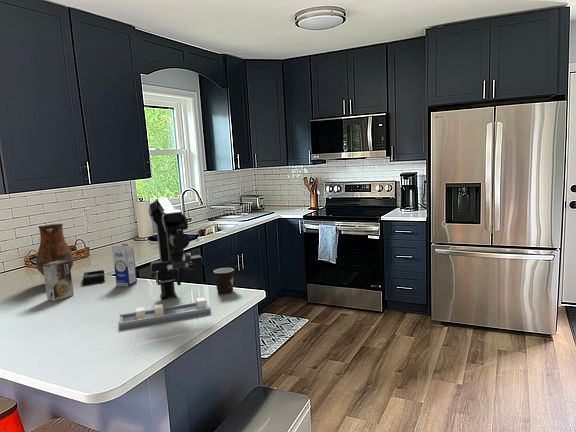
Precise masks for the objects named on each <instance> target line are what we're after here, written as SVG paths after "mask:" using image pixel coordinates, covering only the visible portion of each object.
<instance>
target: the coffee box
mask: <svg viewBox="0 0 576 432" xmlns="http://www.w3.org/2000/svg"><path fill="white" fill-rule="evenodd" d="M43 272H44V275H43V279H44V284H45V291H46V299H47V300H48V301H52V302H56V301H60V300H63V299H66V298H69V297H71V296H74V294H75V293H74V287H73V278H72V271H71V270H70V263H69V261H66V260H59V261H55V262H51V263H47V264H43Z"/></svg>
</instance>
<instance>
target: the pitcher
mask: <svg viewBox="0 0 576 432" xmlns="http://www.w3.org/2000/svg"><path fill="white" fill-rule="evenodd" d="M63 225H64V223H53V224H46V225H38V229H39V235H40V239H39V241H40V242H39V248H38V250H37V252H36V253H37V254H36V256H35V257H36V259H35V265H36V268H37V271H38V272H39V273H40V274H41V275H42V276H44V272H43V264H47V263H51V262H55V261H59V260H66V261H69V263H70V271H71V270H72V268H73V266H74V256H73V253H72V250H71V248H70V247H69V245H68V243H67V241H66V240H65V236H64V231H63Z"/></svg>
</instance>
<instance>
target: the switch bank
mask: <svg viewBox="0 0 576 432" xmlns="http://www.w3.org/2000/svg"><path fill="white" fill-rule="evenodd" d="M205 301H206V308H202V309H198V308H197V305H196V301H195V302H189V303H181V304H178V305H176V304H175V305H171V306H170V305H169V306H163V312H164V315H159V316H155V311H154V308H153V309H147V310H146V309H145V318H141V319H137V318H136V311H134V312H133V311H132V312H126V313H120V314H119V321H118V322H119V323H118V325H119V330H121V331H122V330H126V329H131V328H136V327H138V328H139V327H143V326H149V325H153V324H159V323H160V324H161V323H166V322H172V321H177V320H183V319H188V318H194V316H195V317H200V316H199V315H201V316H204V314H206V315H210V313H211V314H212V312H211V311H212V309H211V307H210V305H209V304H208V302H207V300H205Z"/></svg>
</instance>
